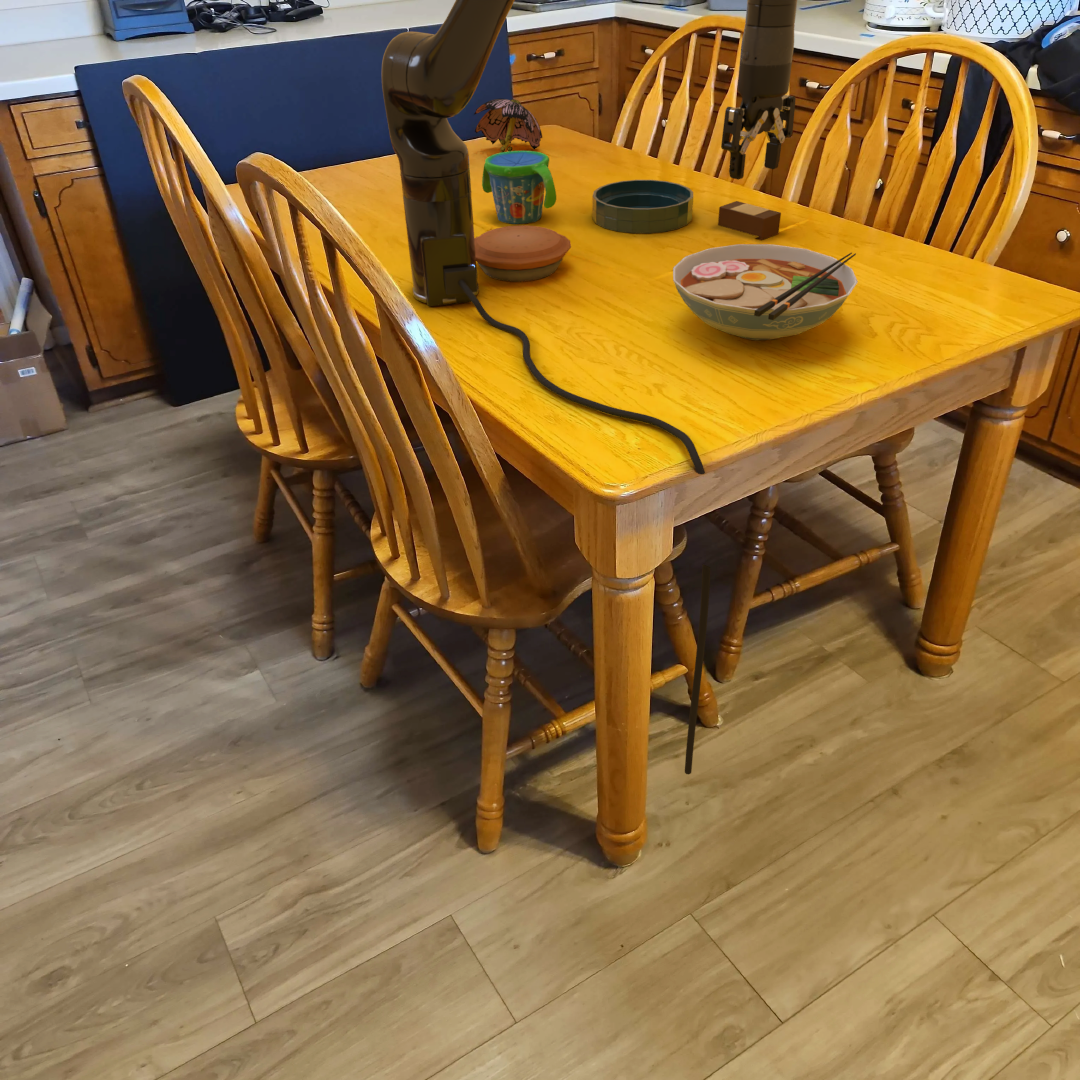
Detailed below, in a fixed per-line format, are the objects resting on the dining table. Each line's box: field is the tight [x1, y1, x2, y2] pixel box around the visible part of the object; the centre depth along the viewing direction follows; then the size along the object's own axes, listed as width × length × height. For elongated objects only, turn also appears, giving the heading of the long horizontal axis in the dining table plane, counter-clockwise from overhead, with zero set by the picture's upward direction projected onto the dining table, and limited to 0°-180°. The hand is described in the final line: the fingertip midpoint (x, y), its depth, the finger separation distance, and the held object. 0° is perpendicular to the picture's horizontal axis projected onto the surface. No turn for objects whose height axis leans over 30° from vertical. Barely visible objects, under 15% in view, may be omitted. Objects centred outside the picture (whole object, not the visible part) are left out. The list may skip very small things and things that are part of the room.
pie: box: [474, 225, 572, 283], centre depth 142 cm, size 15×16×5 cm
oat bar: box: [717, 200, 782, 241], centre depth 153 cm, size 9×4×4 cm, turn 41°
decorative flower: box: [473, 98, 544, 153], centre depth 196 cm, size 15×12×15 cm
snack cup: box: [481, 150, 557, 225], centre depth 159 cm, size 16×10×10 cm
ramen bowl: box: [672, 243, 858, 341], centre depth 121 cm, size 25×23×8 cm
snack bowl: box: [591, 179, 694, 234], centre depth 159 cm, size 17×17×4 cm
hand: (753, 173), depth 149 cm, fingers open, 8 cm apart
